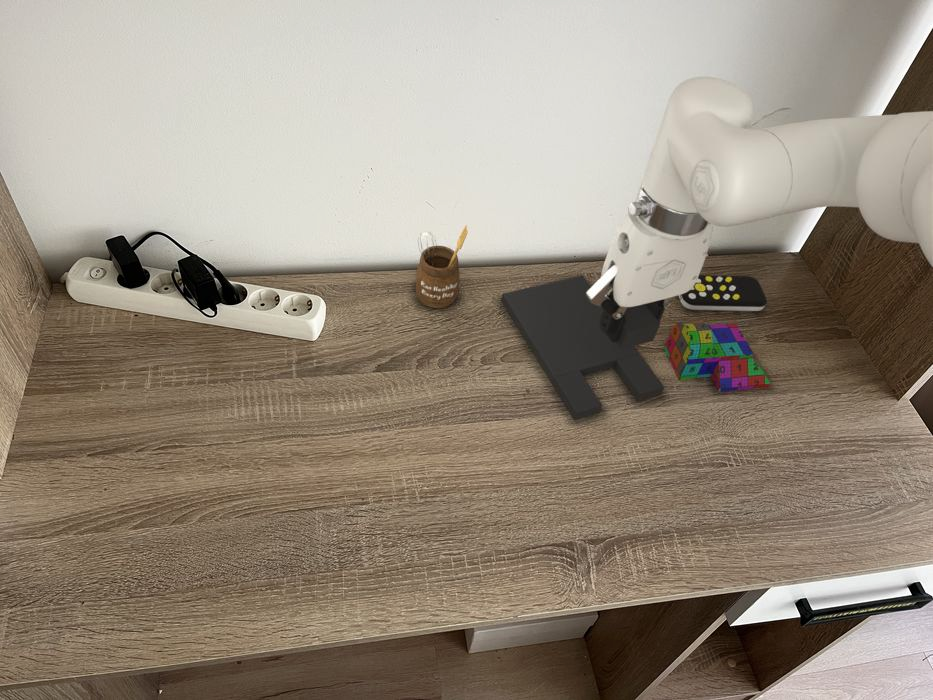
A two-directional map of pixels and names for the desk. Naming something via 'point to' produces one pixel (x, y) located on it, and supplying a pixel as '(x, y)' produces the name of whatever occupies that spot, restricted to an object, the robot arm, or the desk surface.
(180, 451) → the desk surface
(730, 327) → the block
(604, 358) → the big pad
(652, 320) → the small black box
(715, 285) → the remote control
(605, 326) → the robot arm
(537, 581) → the desk surface
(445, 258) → the utensil holder
